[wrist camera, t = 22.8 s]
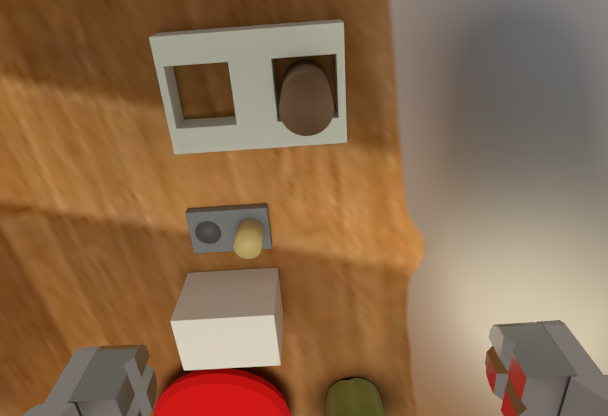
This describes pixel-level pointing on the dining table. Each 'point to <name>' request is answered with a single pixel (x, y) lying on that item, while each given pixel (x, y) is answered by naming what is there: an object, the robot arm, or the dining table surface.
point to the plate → (230, 229)
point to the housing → (229, 319)
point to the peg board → (247, 83)
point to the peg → (306, 98)
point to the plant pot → (353, 399)
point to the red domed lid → (221, 395)
